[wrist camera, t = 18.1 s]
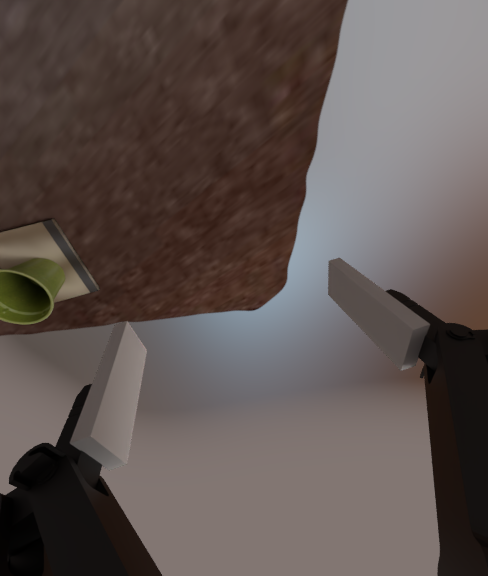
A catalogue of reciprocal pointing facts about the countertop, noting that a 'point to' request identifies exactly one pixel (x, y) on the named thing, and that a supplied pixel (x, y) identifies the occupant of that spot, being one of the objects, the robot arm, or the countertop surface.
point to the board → (47, 255)
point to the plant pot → (29, 290)
